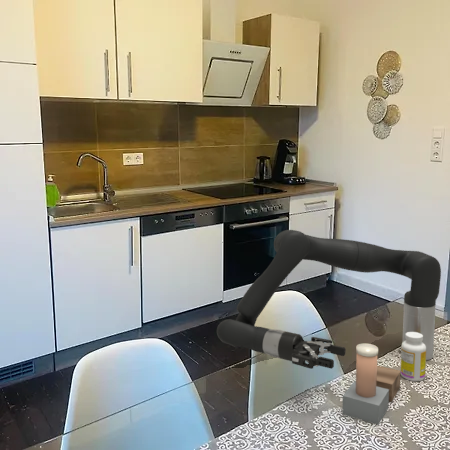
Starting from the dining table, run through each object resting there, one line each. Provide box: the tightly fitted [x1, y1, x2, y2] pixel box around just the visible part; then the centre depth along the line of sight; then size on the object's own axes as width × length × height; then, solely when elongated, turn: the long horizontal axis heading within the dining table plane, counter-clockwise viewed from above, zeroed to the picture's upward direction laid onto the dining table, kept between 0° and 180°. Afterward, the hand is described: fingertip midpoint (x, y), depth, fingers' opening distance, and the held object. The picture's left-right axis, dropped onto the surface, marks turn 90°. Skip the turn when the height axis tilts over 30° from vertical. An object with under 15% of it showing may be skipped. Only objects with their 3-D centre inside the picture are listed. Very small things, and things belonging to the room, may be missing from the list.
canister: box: [355, 343, 379, 398], centre depth 119 cm, size 5×5×12 cm
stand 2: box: [376, 365, 402, 403], centre depth 130 cm, size 9×9×5 cm
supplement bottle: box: [400, 332, 427, 382], centre depth 137 cm, size 7×7×13 cm
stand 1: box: [342, 380, 390, 426], centre depth 120 cm, size 9×9×5 cm
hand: (339, 358), depth 122 cm, fingers open, 8 cm apart
